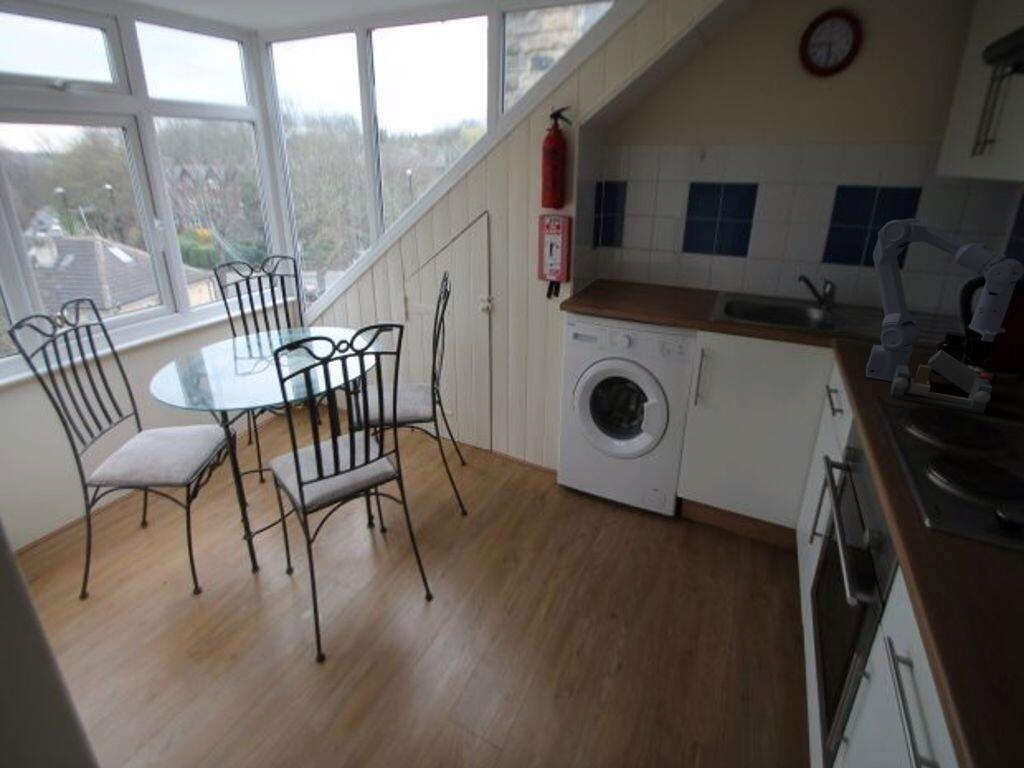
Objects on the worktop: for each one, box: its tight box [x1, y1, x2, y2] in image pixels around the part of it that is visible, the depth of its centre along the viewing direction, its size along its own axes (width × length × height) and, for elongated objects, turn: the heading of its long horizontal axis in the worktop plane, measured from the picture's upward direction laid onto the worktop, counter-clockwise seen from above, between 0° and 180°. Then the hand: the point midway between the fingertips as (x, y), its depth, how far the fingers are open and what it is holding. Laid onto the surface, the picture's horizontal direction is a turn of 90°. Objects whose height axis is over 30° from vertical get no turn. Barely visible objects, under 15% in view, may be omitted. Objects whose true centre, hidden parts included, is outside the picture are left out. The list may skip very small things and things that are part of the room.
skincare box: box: [927, 350, 980, 394], centre depth 147 cm, size 6×4×12 cm
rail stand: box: [890, 365, 993, 415], centre depth 139 cm, size 20×8×7 cm, turn 58°
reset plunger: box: [979, 371, 994, 381], centre depth 133 cm, size 2×2×1 cm
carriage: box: [907, 363, 932, 396], centre depth 140 cm, size 4×5×7 cm
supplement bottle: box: [930, 331, 966, 376], centre depth 157 cm, size 7×7×12 cm
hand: (972, 361), depth 138 cm, fingers open, 7 cm apart
